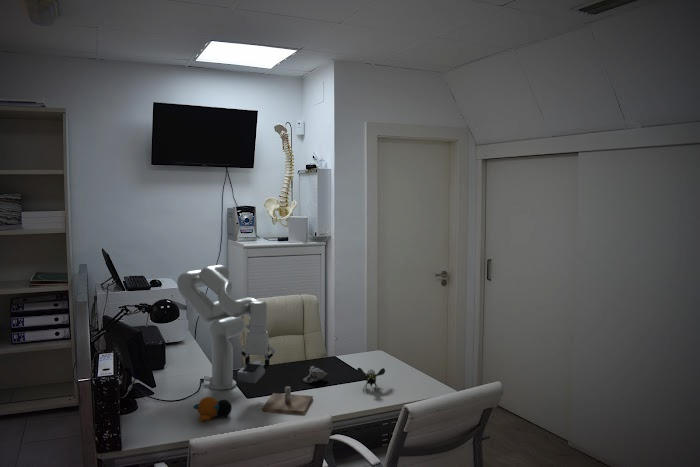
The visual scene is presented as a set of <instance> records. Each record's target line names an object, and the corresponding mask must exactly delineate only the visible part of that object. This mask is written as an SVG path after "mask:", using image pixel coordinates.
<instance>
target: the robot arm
mask: <svg viewBox="0 0 700 467" xmlns="http://www.w3.org/2000/svg"><path fill="white" fill-rule="evenodd" d="M229 277H230V272H229V269H228V268H227V267H226V266H225V265H223V264H214V265H209V266H208V265H207V266H205V267H203V268H202V269H201V268H200V269H196V270H188V271H185V272H182V273H181V274H180V275H179V276H178V278H177V282H176V283H177V290H178V293H179V294H180V296H182V298H183V299H184V300H185V301H186V302H187V303H188V304H189V305H190V306H191V307H192V309H193V310H194V311H195V313H197V315H198V316H199V317H200V319H201V320H202V321H203V322H204V323H206V324H210V326H209V331H208V332H209V336H210V340H211V342H210V343H211V375H204V376H203V379H204V381H205V382H208V387H209V389H211V390H216V391H225V390H230V389H233V388H235V387H236V385H237V380H235V379H234V376H233V375H234V369H233V367H234V364H233V363H234V356H233V355H234V353H233V352H234V349H233V344H232V343H231V340H230V338H233V337H237V336H239V335H241V334H243V333H244V331H245V329H248V330H247V332H246V337H245V344H244V345H241V346H240V347H239V348H238V350H239V352H240V353H241V355H242V356H243V357H244V365H245V364H247V363H248V362H250V363H251V357H250V356H251V355H252V356H263V357H264V358H265V360H264V364H265V370H267V369H268V368H269V366H270V359H271V358H273V356H274V355H275V354H276V352H277V350H276V349H275V348H274V347H273V346H272V345H270V338H269V333H268V331H267V319H268V318H267V315H268V314H267V309H268V306H267V305H268V304H267V302H266V301H265V300H259V299H256V298H253V297H251V296H249V297H248V296H247V297H243V298H239V299H234V298H232V297H231V296H230V292H231V291H232V289H233V282H232V281H231V280H229ZM202 287H208V288H209V289H210V290H211V291H212V292H213V293H215V294H216V295H217V300H212V299H210V297H208V296H207V294H206V293H204V292H203V291H202V290H200V289H198V288H202ZM243 316H249V317H248V318H249V320H248V322H249V323H248V324H247V325H246V324H245V321H244V319H243V318H242V317H243ZM269 352H271V353H269Z"/></svg>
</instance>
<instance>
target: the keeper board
mask: <svg viewBox="0 0 700 467" xmlns="http://www.w3.org/2000/svg"><path fill="white" fill-rule="evenodd" d="M291 390H292V389H291V386H285V387H284V393H278V392H277V393H275V392H273V393H272V394H271V395H270V396H269V398H268V399H267V401H266V402H265V403H264V404H263V406H262V407H261V412H262V413H263V412H267V413H277V414H289V415H290V414H292V415H305V413H306V412H307V411H308V409H309V407H310V405H311V403H312V401H313V396H314V395H304V394H291V393H292V392H291Z"/></svg>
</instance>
